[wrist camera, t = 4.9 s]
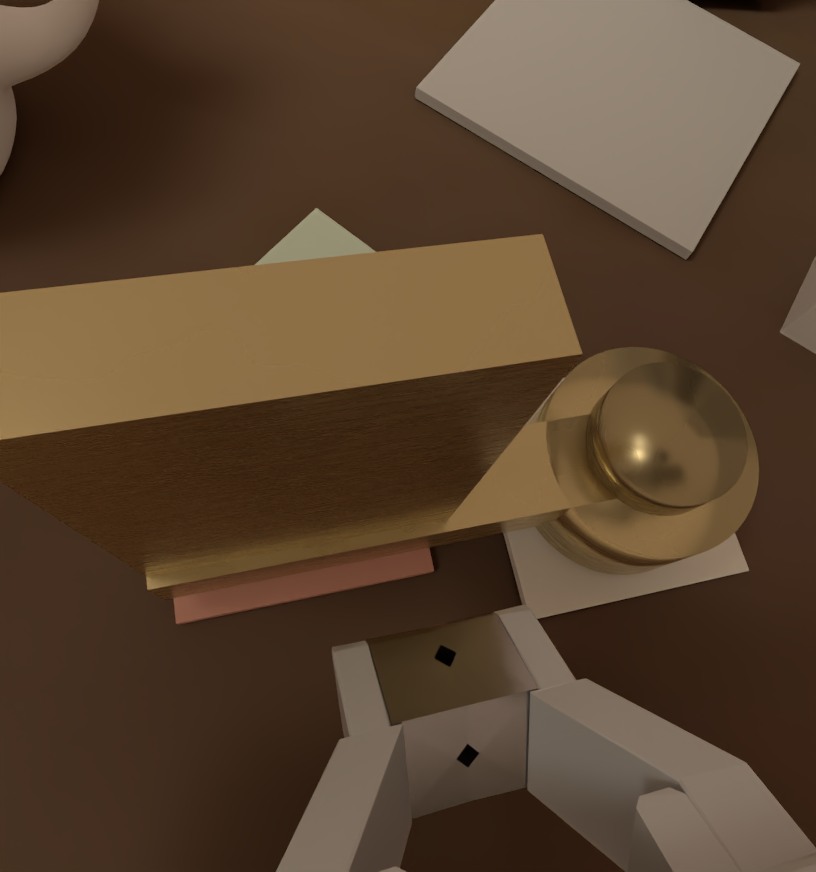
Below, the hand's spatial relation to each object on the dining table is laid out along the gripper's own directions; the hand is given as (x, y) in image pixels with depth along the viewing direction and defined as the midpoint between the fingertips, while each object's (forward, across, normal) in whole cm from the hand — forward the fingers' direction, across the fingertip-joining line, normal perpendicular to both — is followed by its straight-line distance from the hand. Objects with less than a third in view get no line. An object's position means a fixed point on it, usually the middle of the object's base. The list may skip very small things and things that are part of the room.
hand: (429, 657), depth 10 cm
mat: (+16, -12, -8) cm, 21 cm away
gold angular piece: (+6, -2, +1) cm, 7 cm away
